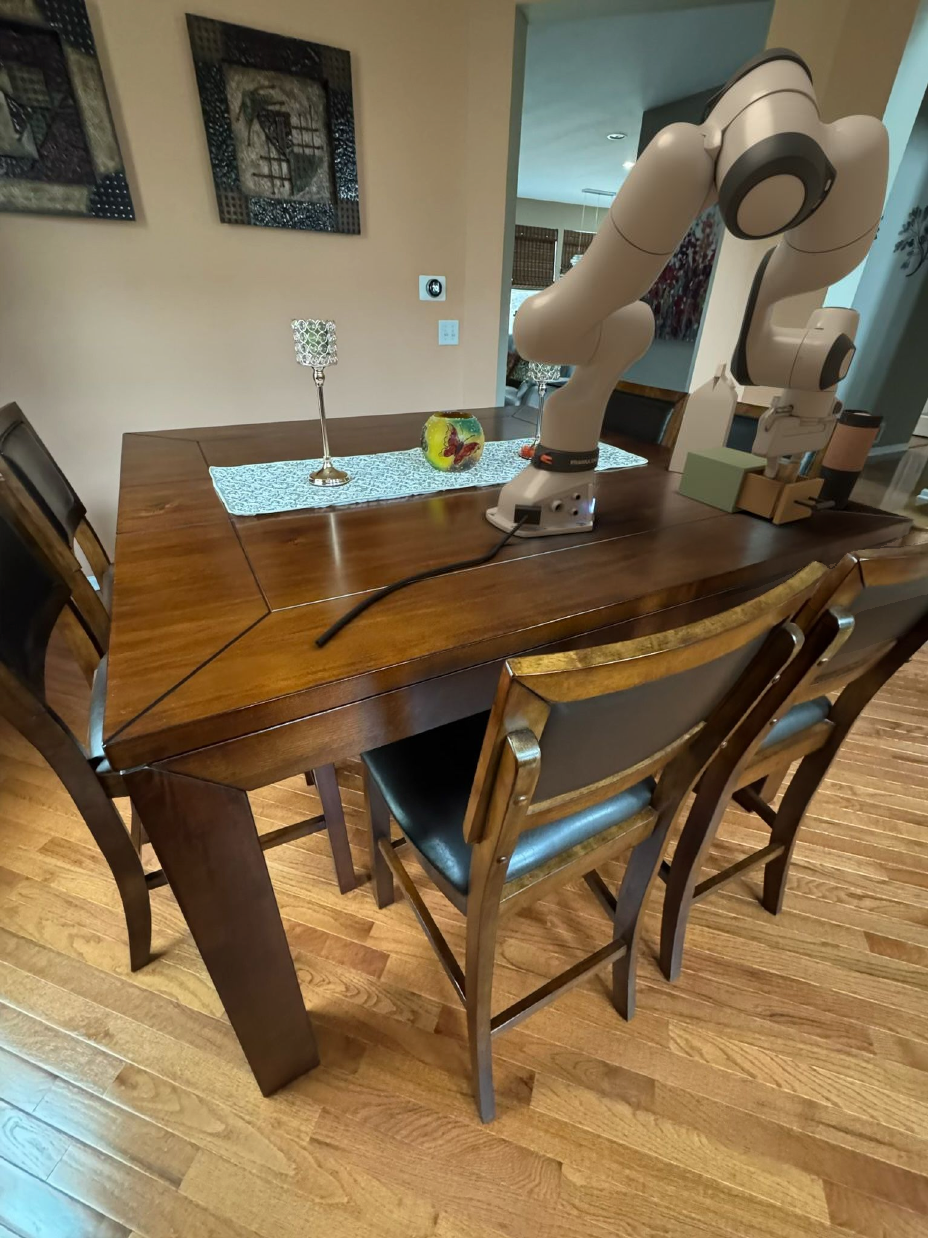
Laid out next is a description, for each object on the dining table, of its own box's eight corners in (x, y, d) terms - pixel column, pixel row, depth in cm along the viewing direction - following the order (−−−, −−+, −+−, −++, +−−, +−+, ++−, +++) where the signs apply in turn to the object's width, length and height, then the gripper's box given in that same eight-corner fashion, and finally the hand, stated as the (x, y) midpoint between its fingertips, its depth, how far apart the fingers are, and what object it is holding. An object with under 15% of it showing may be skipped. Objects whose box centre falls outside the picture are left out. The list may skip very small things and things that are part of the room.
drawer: (833, 523, 109) (849, 486, 105) (800, 532, 104) (816, 493, 100) (753, 496, 123) (764, 462, 119) (720, 503, 118) (731, 468, 113)
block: (780, 487, 109) (788, 465, 106) (761, 481, 112) (768, 459, 110) (794, 484, 111) (802, 462, 108) (774, 478, 114) (781, 457, 112)
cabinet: (766, 504, 121) (781, 462, 116) (731, 512, 115) (744, 468, 110) (712, 486, 132) (724, 446, 127) (677, 492, 126) (687, 451, 121)
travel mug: (809, 506, 121) (846, 413, 110) (805, 496, 127) (839, 407, 117) (848, 512, 119) (889, 417, 108) (842, 501, 125) (879, 411, 114)
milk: (677, 460, 152) (701, 359, 138) (720, 467, 147) (750, 363, 133) (668, 470, 142) (693, 362, 129) (713, 478, 138) (745, 367, 124)
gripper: (787, 410, 96) (762, 485, 104) (849, 404, 106) (822, 474, 113) (756, 404, 101) (734, 476, 108) (818, 398, 110) (794, 466, 117)
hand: (779, 475), depth 111 cm, fingers closed on block, 4 cm apart
